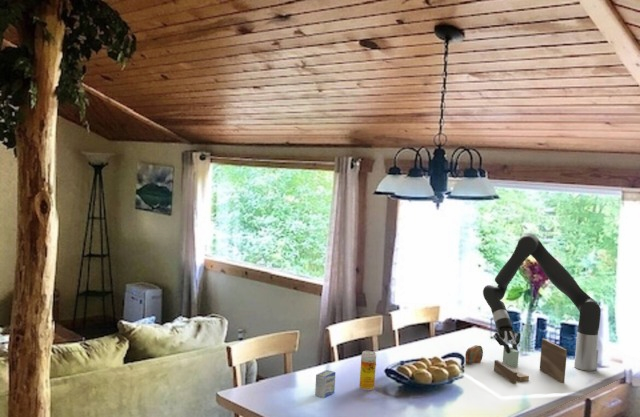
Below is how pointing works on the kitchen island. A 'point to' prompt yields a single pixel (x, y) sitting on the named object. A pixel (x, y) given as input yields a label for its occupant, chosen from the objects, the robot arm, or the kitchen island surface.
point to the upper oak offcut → (521, 376)
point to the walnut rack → (541, 363)
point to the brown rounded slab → (474, 355)
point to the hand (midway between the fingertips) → (512, 352)
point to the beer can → (367, 370)
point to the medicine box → (325, 383)
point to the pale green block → (511, 357)
